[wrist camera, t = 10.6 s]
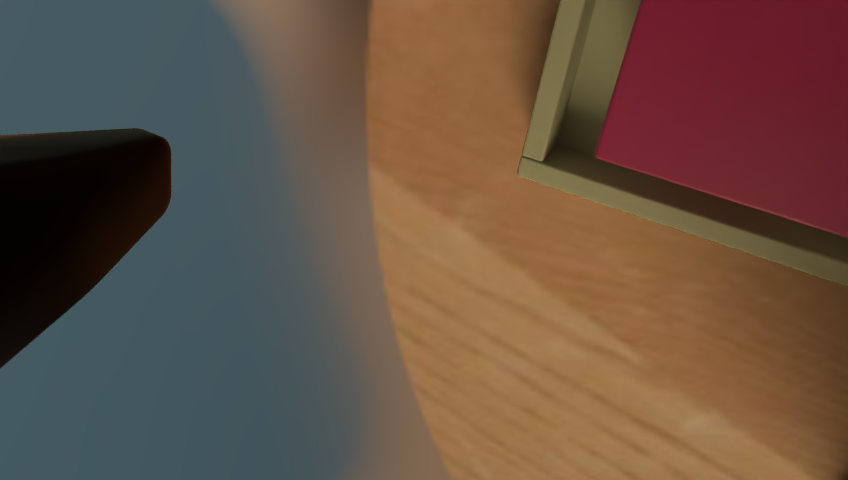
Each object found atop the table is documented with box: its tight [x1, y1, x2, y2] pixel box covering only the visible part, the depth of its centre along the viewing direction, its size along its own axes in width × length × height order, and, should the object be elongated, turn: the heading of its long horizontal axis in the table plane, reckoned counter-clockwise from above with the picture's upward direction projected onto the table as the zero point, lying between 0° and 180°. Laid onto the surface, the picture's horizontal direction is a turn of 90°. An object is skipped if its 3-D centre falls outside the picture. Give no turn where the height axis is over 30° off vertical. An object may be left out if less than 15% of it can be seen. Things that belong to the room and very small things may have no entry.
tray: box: [517, 0, 848, 287], centre depth 17 cm, size 10×9×2 cm
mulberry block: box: [594, 0, 848, 238], centre depth 15 cm, size 5×5×5 cm
